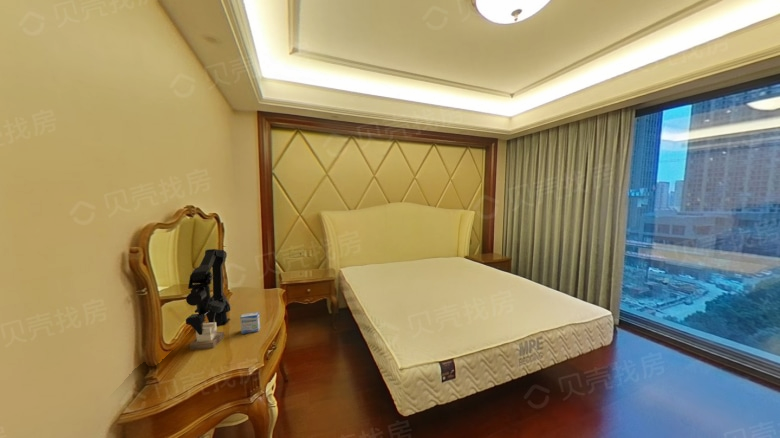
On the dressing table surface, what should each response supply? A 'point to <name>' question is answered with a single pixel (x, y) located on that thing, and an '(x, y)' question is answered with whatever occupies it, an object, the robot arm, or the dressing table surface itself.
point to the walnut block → (207, 342)
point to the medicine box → (250, 322)
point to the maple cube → (207, 332)
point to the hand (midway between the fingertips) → (206, 329)
